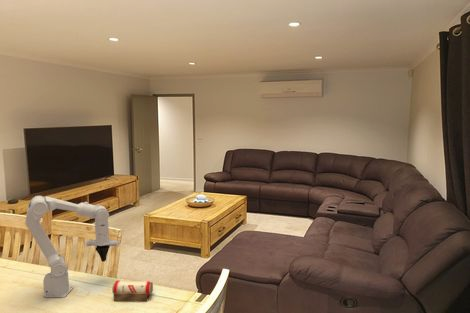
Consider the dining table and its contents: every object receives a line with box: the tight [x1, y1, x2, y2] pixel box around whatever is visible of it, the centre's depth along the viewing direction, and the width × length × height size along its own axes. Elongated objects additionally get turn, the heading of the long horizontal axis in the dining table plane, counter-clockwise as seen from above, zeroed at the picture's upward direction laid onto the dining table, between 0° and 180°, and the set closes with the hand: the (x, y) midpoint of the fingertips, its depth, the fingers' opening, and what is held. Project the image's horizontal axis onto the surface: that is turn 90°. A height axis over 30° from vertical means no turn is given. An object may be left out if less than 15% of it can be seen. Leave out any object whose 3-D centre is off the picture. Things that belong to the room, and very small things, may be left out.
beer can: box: [112, 279, 154, 297], centre depth 153 cm, size 6×6×16 cm
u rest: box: [112, 292, 151, 303], centre depth 154 cm, size 14×10×4 cm
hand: (103, 260), depth 164 cm, fingers closed
